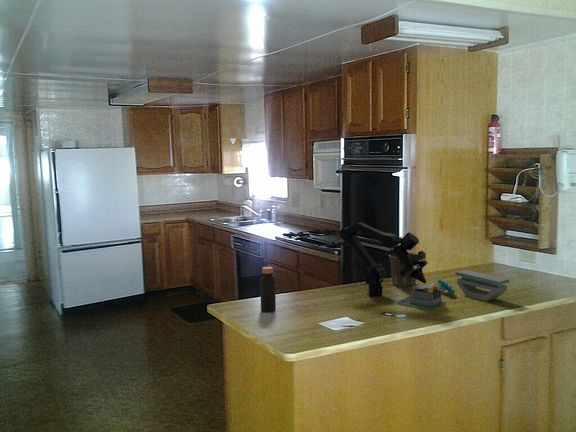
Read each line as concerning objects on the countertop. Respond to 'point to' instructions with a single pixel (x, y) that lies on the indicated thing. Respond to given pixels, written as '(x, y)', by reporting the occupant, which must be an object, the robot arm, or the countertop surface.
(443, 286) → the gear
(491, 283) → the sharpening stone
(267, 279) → the bottle
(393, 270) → the plant pot
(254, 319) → the countertop surface
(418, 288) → the retention strap
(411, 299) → the heatsink board
